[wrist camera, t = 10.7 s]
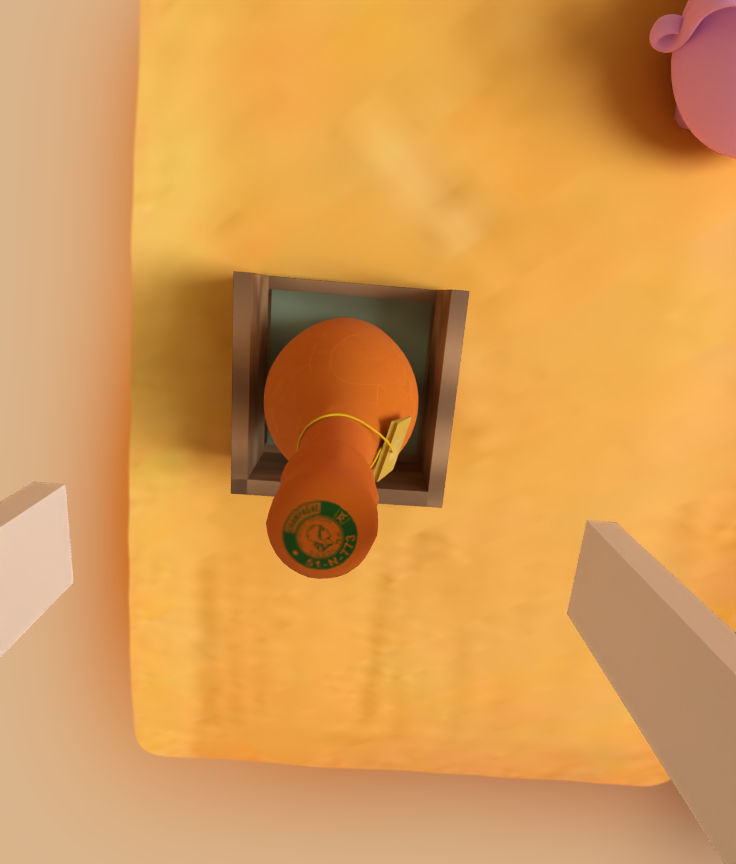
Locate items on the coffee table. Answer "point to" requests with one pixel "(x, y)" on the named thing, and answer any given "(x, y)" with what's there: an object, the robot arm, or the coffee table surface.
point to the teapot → (703, 69)
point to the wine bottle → (335, 441)
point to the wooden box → (379, 305)
